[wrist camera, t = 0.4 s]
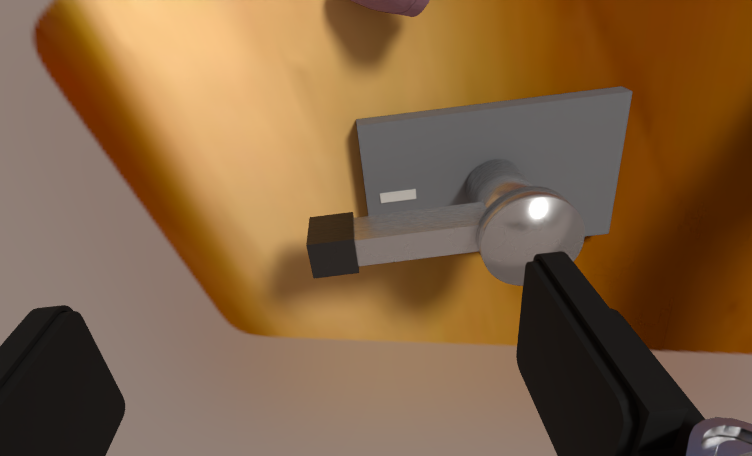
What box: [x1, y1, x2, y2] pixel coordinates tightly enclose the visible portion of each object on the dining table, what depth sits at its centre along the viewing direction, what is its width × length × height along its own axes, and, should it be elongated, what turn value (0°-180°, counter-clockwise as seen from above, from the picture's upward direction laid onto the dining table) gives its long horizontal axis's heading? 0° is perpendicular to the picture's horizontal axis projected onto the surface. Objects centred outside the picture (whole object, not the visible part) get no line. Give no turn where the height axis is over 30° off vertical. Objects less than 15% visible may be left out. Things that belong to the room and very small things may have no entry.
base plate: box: [356, 86, 632, 236], centre depth 37 cm, size 20×12×2 cm, turn 96°
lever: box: [307, 159, 585, 286], centre depth 33 cm, size 17×6×9 cm, turn 96°
